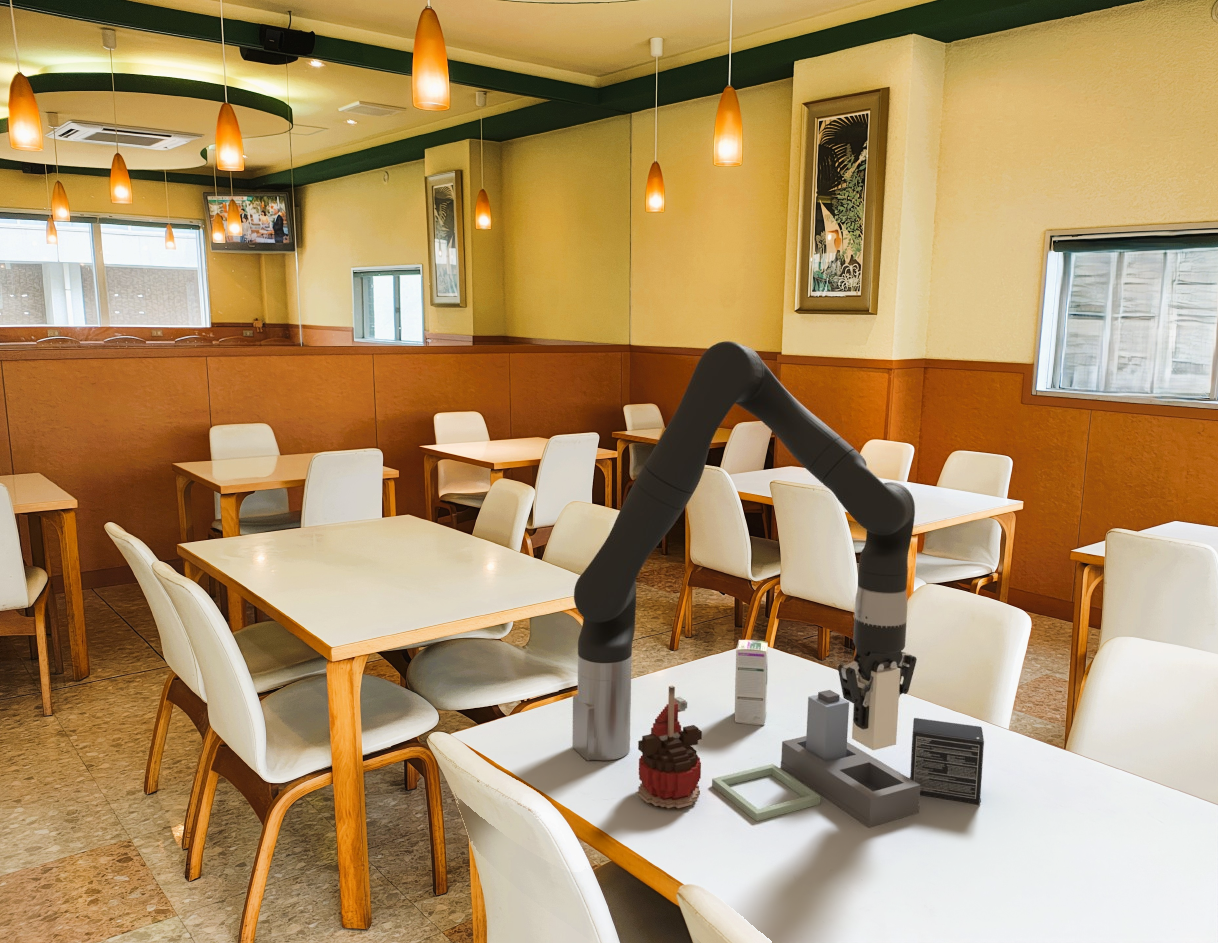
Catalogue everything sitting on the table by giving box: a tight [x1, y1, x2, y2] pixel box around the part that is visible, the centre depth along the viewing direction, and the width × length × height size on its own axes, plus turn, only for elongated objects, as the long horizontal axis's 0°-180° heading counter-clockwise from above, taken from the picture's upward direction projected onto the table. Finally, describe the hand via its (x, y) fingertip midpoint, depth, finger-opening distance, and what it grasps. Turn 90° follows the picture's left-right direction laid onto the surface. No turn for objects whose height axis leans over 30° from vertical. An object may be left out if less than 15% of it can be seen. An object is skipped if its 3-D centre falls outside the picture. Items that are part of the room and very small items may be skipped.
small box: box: [909, 717, 985, 805], centre depth 144 cm, size 11×6×10 cm, turn 71°
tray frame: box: [711, 763, 821, 822], centre depth 142 cm, size 12×12×1 cm
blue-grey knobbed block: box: [805, 689, 850, 762], centre depth 148 cm, size 5×5×13 cm
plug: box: [851, 662, 901, 751], centre depth 137 cm, size 5×5×13 cm
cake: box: [637, 685, 703, 809], centre depth 140 cm, size 11×9×18 cm
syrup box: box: [734, 639, 769, 726], centre depth 170 cm, size 6×6×14 cm
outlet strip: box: [780, 735, 921, 828], centre depth 144 cm, size 10×21×4 cm, turn 27°
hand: (874, 723), depth 138 cm, fingers closed on plug, 4 cm apart
